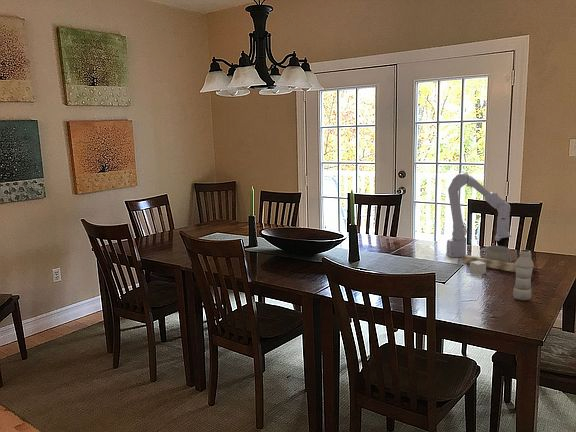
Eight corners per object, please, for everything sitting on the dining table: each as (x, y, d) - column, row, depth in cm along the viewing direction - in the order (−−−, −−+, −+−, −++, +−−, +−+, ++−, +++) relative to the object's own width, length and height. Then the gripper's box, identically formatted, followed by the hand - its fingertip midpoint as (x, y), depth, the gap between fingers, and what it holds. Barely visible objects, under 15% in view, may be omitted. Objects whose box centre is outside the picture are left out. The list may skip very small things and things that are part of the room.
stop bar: (461, 262, 242) (461, 255, 242) (463, 261, 244) (464, 254, 244) (515, 272, 225) (515, 264, 224) (517, 270, 226) (517, 263, 226)
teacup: (509, 261, 241) (510, 246, 240) (509, 267, 232) (510, 251, 230) (480, 259, 247) (480, 244, 246) (478, 264, 238) (479, 249, 236)
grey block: (477, 274, 222) (477, 264, 221) (469, 271, 227) (470, 261, 226) (485, 273, 224) (486, 263, 223) (477, 270, 229) (478, 260, 228)
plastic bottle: (509, 297, 193) (512, 249, 189) (525, 296, 194) (528, 248, 190) (518, 302, 187) (521, 253, 183) (534, 301, 187) (538, 252, 184)
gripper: (505, 229, 235) (504, 256, 237) (516, 224, 245) (514, 250, 247) (491, 227, 240) (489, 253, 242) (502, 223, 250) (500, 248, 252)
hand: (501, 251), depth 245 cm, fingers closed
